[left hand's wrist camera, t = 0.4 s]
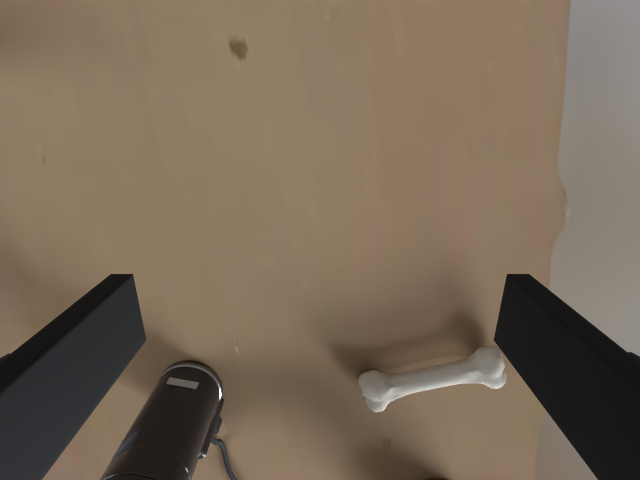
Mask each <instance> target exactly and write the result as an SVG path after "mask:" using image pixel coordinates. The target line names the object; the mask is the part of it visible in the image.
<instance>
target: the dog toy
mask: <svg viewBox="0 0 640 480" xmlns="http://www.w3.org/2000/svg"><path fill="white" fill-rule="evenodd" d="M504 367H505V363H504V361H503V358H502V352H501V350H500V349H499V348H497V347H496V346H485V347H481V348H478V349H477V350H476V351H475V352H474V353H473V354H472V355H470V356H468V357H467V358H465V359H463V360H460V361H456V362H452V363H448V364H443V365H438V366H434V367H429V368H424V369H419V370H415V371H410V372H405V373H399V374H386V373H382V372H380V371H377V370H371V371H367V372H365V373H363V374H361V375H360V377H359V386H360V388H361V389H362V395H363V396H364V397H365V403H366V405H367V406H368V407H369V408H370V409H371V410H372V411H374V412H381V411H383V410H384V409H385V408H386V406H387V405H388V404H389V403H390V402H391V401H394V400H395V399H397V398H400V397H402V396H405V395H408V394H411V393H415V392H420V391H425V390H430V389H435V388H440V387H445V386H450V385H455V384H462V383H482V384H485V385H487V386H488V387H491V388H493V389H498V388H500V387H502V386H503V385H504V384H505V382H506V372H505V371H504V370H503V369H504Z"/></svg>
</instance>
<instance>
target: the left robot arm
mask: <svg viewBox="0 0 640 480" xmlns="http://www.w3.org/2000/svg"><path fill="white" fill-rule="evenodd" d="M145 341H146V337H145V332H144V327H143V322H142V317H141V312H140V307H139V302H138V297H137V292H136V287H135V282H134V277H133V274H111V275H109V276H108V277H107V278H106V279H104V280H103V281H102V282H101V283H99V284H98V285H97V286H96V287H94V288H93V289H92V290H90V291H89V292H88V293H87V294H85V295H84V296H83V297H82V298H80V299H79V300H78V301H77V302H75V303H74V304H73V305H72V306H70V307H69V308H68V309H67V310H65V311H64V312H63V313H62V314H60V315H59V316H58V317H57V318H55V319H54V320H53V321H52V322H50V323H49V324H48V325H47V326H45V327H44V328H43V329H42V330H40V331H39V332H38V333H36V334H35V335H34V336H33V337H31V338H30V339H29V340H28V341H26V342H25V343H24V344H23V345H21V346H20V347H19V348H18V349H16V350H15V351H14V352H13V353H11V354H7V355H5V356H4V357H2V358H0V480H42V479H43V477H44V476H45V475H46V473H47V472H48V471H49V469H50V468H51V467H52V465H53V464H54V463H55V461H56V460H57V459H58V457H59V456H60V455H61V453H62V452H63V451H64V449H65V448H66V447H67V445H68V444H69V443H70V441H71V440H72V439H73V437H74V436H75V435H76V433H77V432H78V431H79V429H80V428H81V427H82V425H83V424H84V423H85V421H86V420H87V419H88V417H89V416H90V415H91V413H92V412H93V411H94V409H95V408H96V407H97V405H98V404H99V403H100V401H101V400H102V399H103V397H104V396H105V395H106V393H107V392H108V391H109V389H110V388H111V387H112V385H113V384H114V383H115V381H116V380H117V379H118V377H119V376H120V375H121V373H122V372H123V370H124V369H125V368H126V366H127V365H128V364H129V362H130V361H131V360H132V358H133V357H134V356H135V354H136V353H137V352H138V350H139V349H140V348H141V346H142V345H143V344H144V342H145ZM494 341H495V342H496V344H497V345H498V346H499V348H500V349H501V350H502V352H503V353H504V354H505V356H506V357H507V358H508V360H509V361H510V362H511V364H512V365H513V366H514V368H515V369H516V370H517V372H518V373H519V375H520V376H521V377H522V379H523V380H524V381H525V383H526V384H527V385H528V387H529V388H530V389H531V391H532V392H533V393H534V395H535V396H536V397H537V399H538V400H539V401H540V403H541V404H542V405H543V407H544V408H545V409H546V411H547V412H548V413H549V415H550V416H551V417H552V419H553V420H554V421H555V422H556V424H557V425H558V427H559V428H560V429H561V431H562V432H563V433H564V435H565V436H566V437H567V439H568V440H569V441H570V443H571V444H572V445H573V447H574V448H575V449H576V451H577V452H578V453H579V455H580V456H581V457H582V459H583V460H584V461H585V463H586V464H587V465H588V467H589V468H590V469H591V471H592V472H593V473H594V475H595V476H596V477H597V479H598V480H640V357H639V356H637V355H636V354H634V353H632V352H626V351H625V350H624V349H622V348H621V347H620V346H619V345H617V344H616V343H615V342H614V341H612V340H611V339H610V338H609V337H607V336H606V335H605V334H604V333H602V332H601V331H600V330H598V329H597V328H596V327H595V326H593V325H592V324H591V323H590V322H588V321H587V320H586V319H585V318H583V317H582V316H581V315H580V314H578V313H577V312H576V311H575V310H573V309H572V308H571V307H570V306H568V305H567V304H566V303H565V302H563V301H562V300H561V299H560V298H558V297H557V296H556V295H555V294H553V293H552V292H551V291H550V290H548V289H547V288H546V287H544V286H543V285H542V284H541V283H539V282H538V281H537V280H536V279H534V278H533V277H532V276H531V275H529V274H507V277H506V282H505V287H504V292H503V297H502V302H501V307H500V312H499V317H498V322H497V327H496V332H495V337H494Z"/></svg>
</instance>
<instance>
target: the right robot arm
mask: <svg viewBox="0 0 640 480" xmlns="http://www.w3.org/2000/svg"><path fill="white" fill-rule="evenodd" d="M221 395H222V383H221V381H220V379H219V377H218V376H217V374H216V373H215V372H214V371H213V370H211V369H210V368H209V367H207V366H205V365H203V364H200V363H196V362H190V361H184V362H178V363H175V364H173V365H171V366H169V367H168V368H166V369H165V370H164V372H163V373H162V375H161V376H160V378H159V380H158V383H157V385H156V386H155V388H154V390H153V391H152V393H151V394H150V396H149V398H148V399H147V401H146V403H145V404H144V406H143V408H142V409H141V411H140V413H139V415H138V416H137V418H136V420H135V421H134V423H133V425H132V426H131V428H130V430H129V431H128V433H127V435H126V436H125V438H124V440H123V441H122V443H121V445H120V446H119V448H118V450H117V451H116V453H115V455H114V457H113V458H112V460H111V462H110V463H109V465H108V467H107V468H106V470H105V472H104V473H103V475H102V477H101V479H100V480H191V479H192V476H193V474H194V471H195V468H196V465H197V462H198V460H199V459H202V458H204V457H205V456H206V454H207V451H208V448H209V445H210V442H211V443H213V444H214V445H219V446H220V448H221V451H222V454H223V459H224V463H225V467H226V470H227V472H228V475H229V477H230V478H231V480H237V479H236V477H235V476H234V474H233V472H232V470H231V467H230V464H229V460H228V455H227V451H226V447H225V445H224V443H223V441H222V440H220V439H219V440H216V439H215V438H214V437H213V435H214V434H217V433H218V432H219V428H220V425H221V422H222V419H221V418H220V416H219V415H220V411H221V408H222V405H223V402H224V399H223V398H222V396H221Z"/></svg>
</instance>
